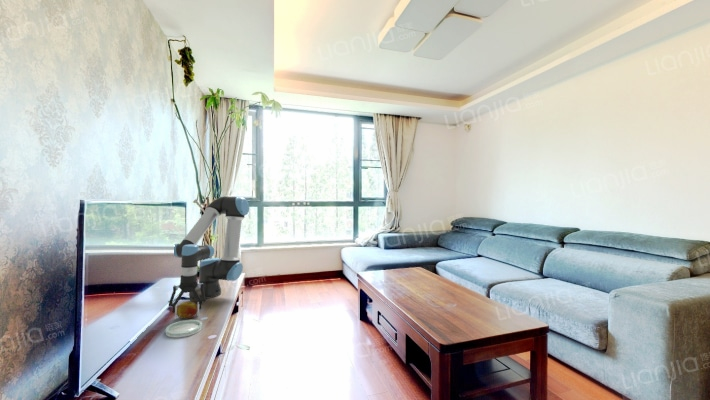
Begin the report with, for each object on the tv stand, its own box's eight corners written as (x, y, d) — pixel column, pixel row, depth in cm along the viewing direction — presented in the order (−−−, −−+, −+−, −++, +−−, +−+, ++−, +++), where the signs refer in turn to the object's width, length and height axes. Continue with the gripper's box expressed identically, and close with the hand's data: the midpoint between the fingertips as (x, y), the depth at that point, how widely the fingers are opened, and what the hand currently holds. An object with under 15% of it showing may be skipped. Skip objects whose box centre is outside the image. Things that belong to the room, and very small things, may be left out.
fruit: (201, 315, 152) (201, 300, 152) (189, 322, 143) (190, 306, 143) (184, 313, 153) (185, 298, 153) (172, 320, 144) (172, 304, 144)
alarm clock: (203, 308, 161) (205, 280, 161) (193, 310, 157) (194, 281, 157) (196, 302, 168) (198, 275, 168) (186, 305, 164) (188, 277, 164)
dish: (166, 326, 137) (166, 322, 137) (201, 321, 145) (201, 317, 145) (164, 340, 124) (164, 336, 124) (202, 333, 132) (203, 329, 132)
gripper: (163, 278, 139) (160, 323, 139) (213, 274, 150) (210, 316, 150) (164, 274, 145) (162, 317, 145) (212, 270, 157) (209, 311, 157)
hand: (186, 316), depth 148 cm, fingers closed on fruit, 9 cm apart
